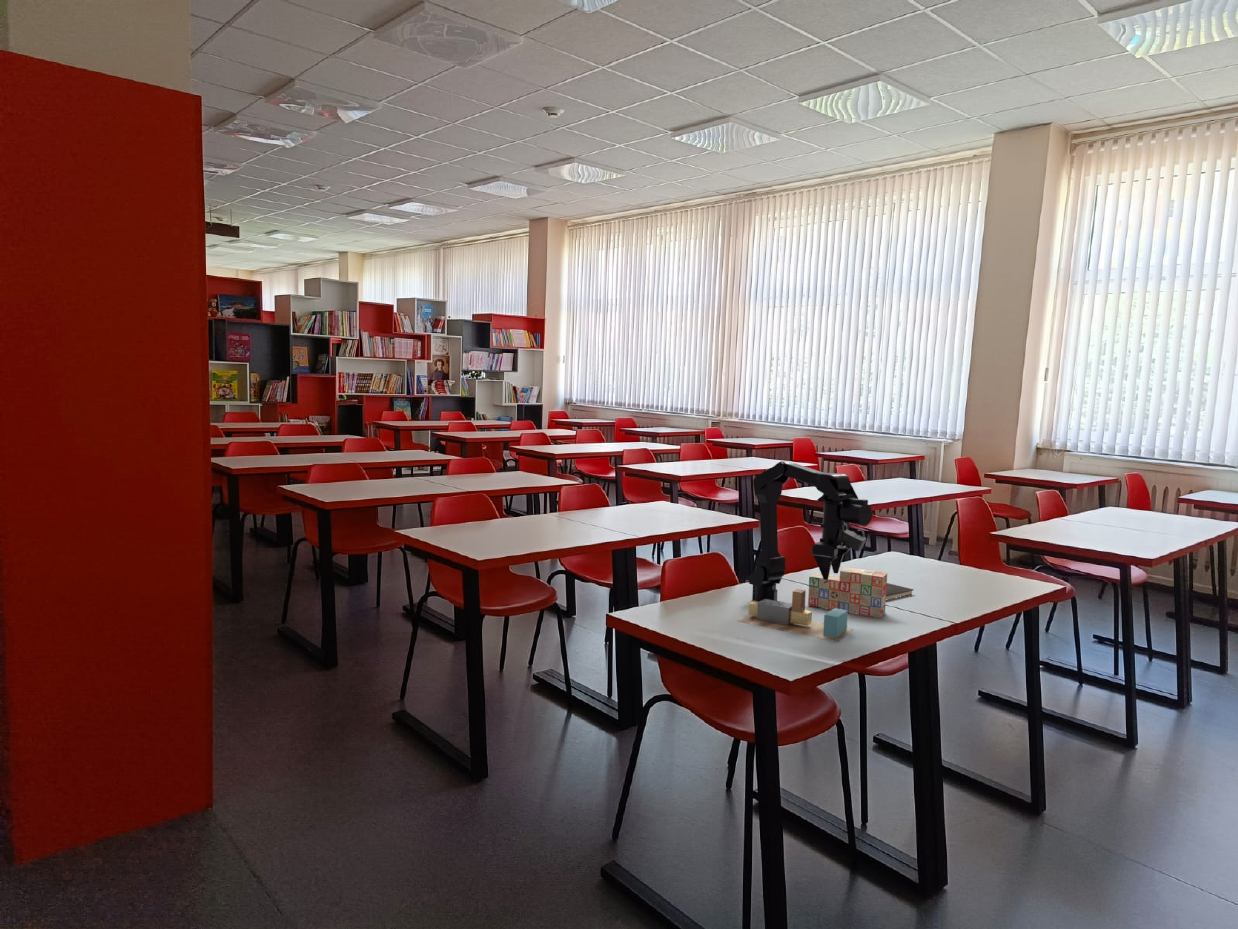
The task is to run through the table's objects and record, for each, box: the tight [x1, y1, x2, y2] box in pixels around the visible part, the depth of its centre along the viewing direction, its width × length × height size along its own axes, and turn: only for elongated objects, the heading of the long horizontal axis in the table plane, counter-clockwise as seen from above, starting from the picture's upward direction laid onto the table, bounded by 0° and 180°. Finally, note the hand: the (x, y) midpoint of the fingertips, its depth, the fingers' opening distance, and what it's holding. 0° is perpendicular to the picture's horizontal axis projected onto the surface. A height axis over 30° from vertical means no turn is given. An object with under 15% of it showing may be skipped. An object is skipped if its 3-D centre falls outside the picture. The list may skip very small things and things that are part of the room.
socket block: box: [823, 608, 849, 638], centre depth 197 cm, size 4×8×5 cm, turn 145°
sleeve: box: [757, 599, 793, 626], centre depth 207 cm, size 9×5×5 cm, turn 55°
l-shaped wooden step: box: [748, 588, 813, 626], centre depth 206 cm, size 17×3×9 cm, turn 55°
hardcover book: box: [886, 582, 914, 600], centre depth 248 cm, size 16×23×2 cm
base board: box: [737, 614, 855, 642], centre depth 204 cm, size 28×13×1 cm, turn 55°
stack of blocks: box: [807, 566, 888, 619], centre depth 223 cm, size 21×6×12 cm, turn 59°
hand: (830, 576), depth 207 cm, fingers open, 9 cm apart
